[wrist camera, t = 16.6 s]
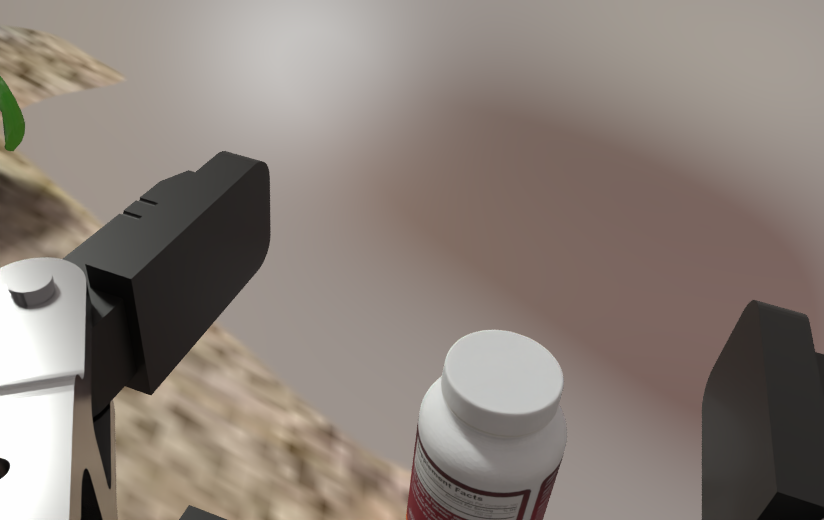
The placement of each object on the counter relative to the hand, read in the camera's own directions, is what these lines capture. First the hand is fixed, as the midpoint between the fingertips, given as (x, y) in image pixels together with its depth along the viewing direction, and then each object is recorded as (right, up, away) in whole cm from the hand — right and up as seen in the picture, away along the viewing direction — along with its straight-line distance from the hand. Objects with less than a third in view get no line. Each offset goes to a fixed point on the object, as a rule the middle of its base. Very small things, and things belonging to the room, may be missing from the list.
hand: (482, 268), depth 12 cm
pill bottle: (+2, -13, +22) cm, 26 cm away
